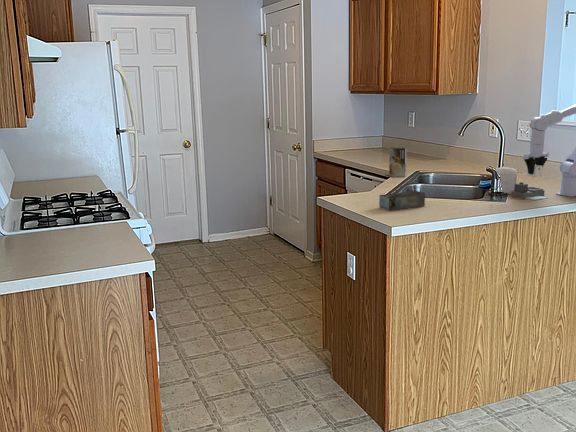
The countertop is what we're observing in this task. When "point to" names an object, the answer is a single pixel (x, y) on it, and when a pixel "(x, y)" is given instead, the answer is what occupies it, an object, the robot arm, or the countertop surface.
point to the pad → (536, 197)
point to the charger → (536, 171)
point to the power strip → (529, 193)
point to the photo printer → (507, 178)
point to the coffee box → (397, 162)
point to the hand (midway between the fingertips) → (534, 173)
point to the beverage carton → (402, 200)
